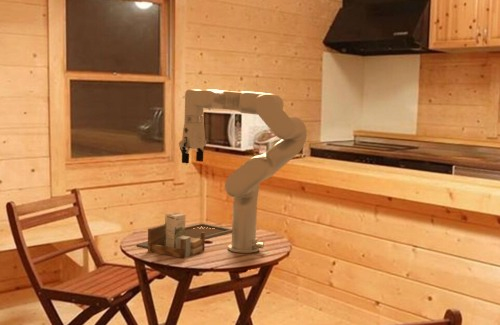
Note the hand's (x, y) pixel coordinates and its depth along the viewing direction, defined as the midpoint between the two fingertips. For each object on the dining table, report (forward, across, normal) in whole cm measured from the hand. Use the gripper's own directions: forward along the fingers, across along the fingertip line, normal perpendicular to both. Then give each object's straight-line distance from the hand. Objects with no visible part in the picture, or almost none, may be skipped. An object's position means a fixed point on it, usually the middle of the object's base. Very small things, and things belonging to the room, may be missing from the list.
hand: (192, 162), depth 237 cm
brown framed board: (+34, +17, +7) cm, 39 cm away
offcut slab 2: (+34, -11, -10) cm, 37 cm away
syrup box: (+34, -14, -3) cm, 37 cm away
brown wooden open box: (+34, -14, -4) cm, 36 cm away
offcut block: (+34, -18, -10) cm, 39 cm away
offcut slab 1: (+31, -11, -10) cm, 35 cm away
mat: (+34, -14, +10) cm, 38 cm away
